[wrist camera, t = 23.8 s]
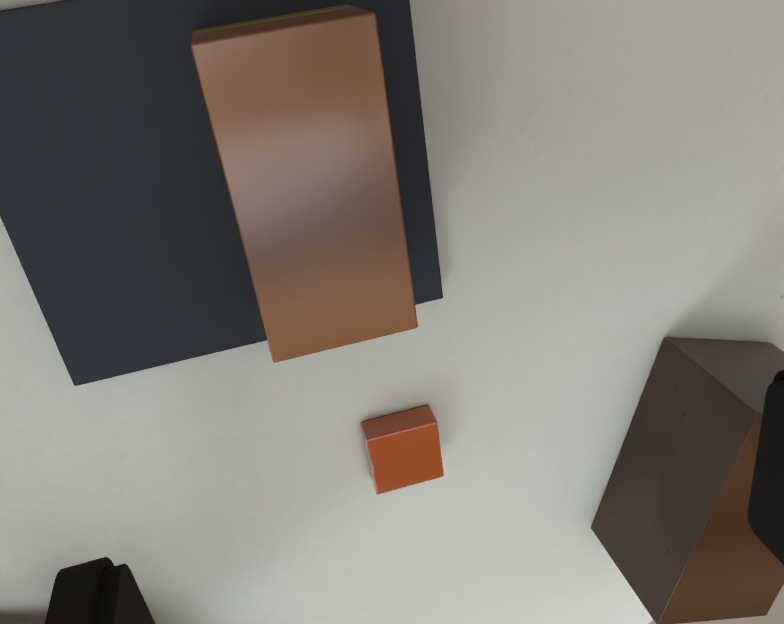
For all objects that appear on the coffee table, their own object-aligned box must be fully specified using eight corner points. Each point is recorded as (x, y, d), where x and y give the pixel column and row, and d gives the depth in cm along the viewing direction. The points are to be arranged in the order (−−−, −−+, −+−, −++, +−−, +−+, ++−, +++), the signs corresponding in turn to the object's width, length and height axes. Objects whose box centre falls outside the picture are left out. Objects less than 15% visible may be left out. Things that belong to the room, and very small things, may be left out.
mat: (398, -53, 25) (404, -54, 24) (438, 291, 31) (443, 298, 31) (-76, 22, 22) (-85, 24, 22) (77, 376, 29) (74, 387, 28)
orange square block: (428, 404, 34) (437, 421, 33) (435, 458, 36) (444, 477, 35) (360, 421, 34) (366, 440, 32) (370, 475, 35) (376, 495, 34)
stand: (663, 336, 36) (757, 413, 30) (770, 342, 38) (878, 415, 32) (590, 528, 41) (657, 626, 35) (687, 524, 43) (766, 616, 37)
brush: (192, 30, 24) (190, 44, 20) (347, 3, 24) (375, 12, 21) (263, 309, 29) (273, 363, 25) (390, 279, 30) (418, 328, 26)
